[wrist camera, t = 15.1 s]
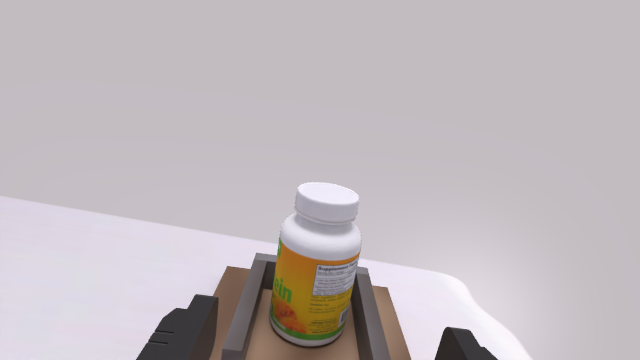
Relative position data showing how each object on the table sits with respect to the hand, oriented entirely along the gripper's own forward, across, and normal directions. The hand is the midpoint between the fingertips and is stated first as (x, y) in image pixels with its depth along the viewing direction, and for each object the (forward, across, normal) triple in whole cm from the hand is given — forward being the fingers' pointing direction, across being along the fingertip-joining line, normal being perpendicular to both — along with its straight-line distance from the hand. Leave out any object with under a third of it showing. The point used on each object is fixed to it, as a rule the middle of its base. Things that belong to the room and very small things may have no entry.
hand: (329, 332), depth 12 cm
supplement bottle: (+10, 0, +8) cm, 13 cm away
